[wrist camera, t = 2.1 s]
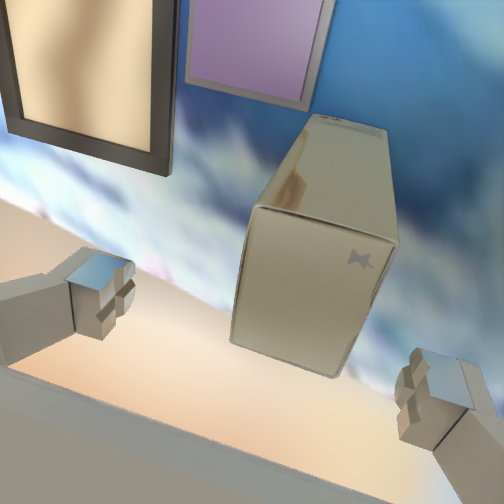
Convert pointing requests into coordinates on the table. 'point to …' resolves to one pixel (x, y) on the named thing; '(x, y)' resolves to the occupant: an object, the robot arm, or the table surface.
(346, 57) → the table surface
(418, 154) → the table surface
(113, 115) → the framed board
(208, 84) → the pad
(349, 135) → the skincare box
